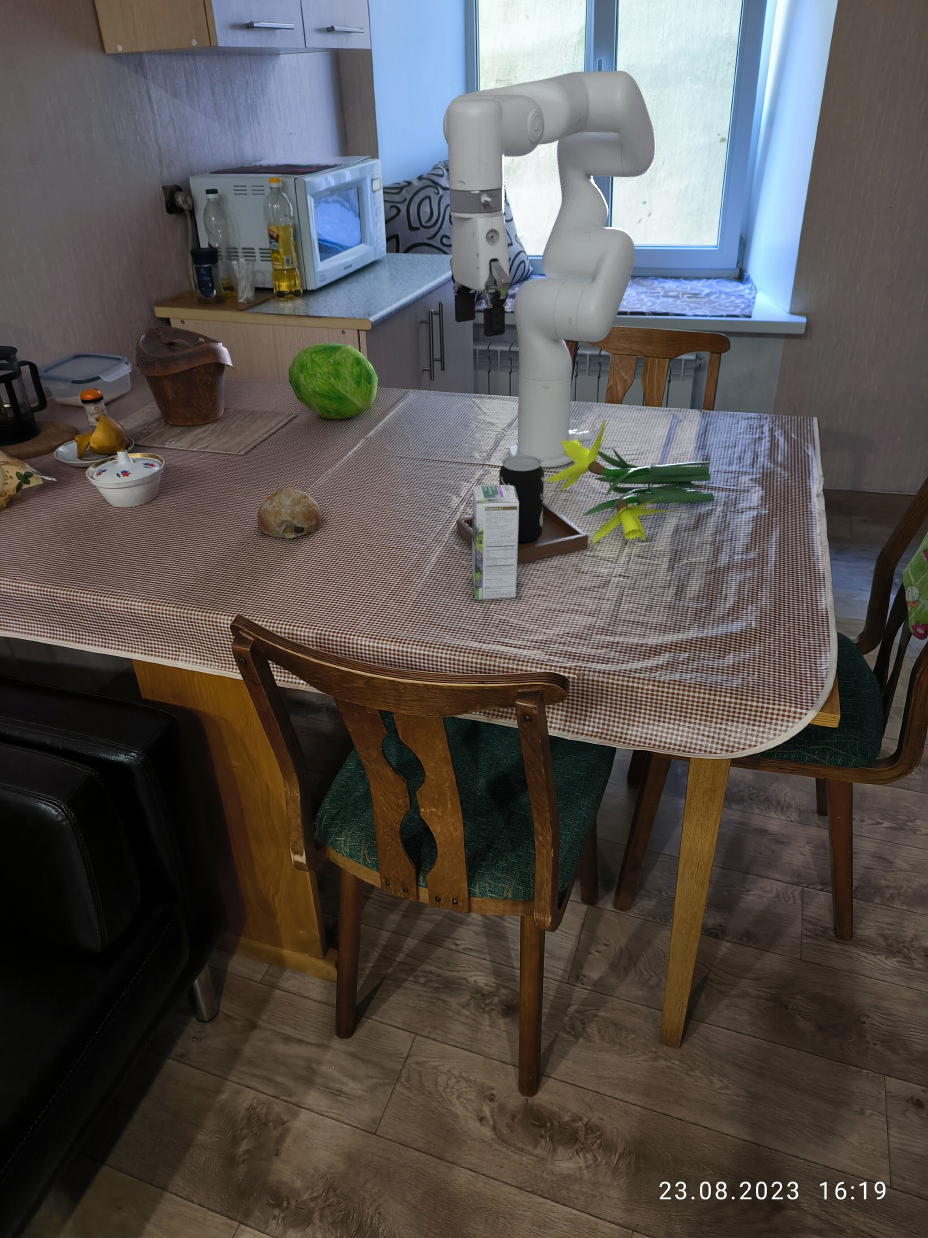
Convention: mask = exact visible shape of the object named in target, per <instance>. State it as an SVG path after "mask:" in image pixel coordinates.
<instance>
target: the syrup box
mask: <svg viewBox="0 0 928 1238" xmlns="http://www.w3.org/2000/svg"><path fill="white" fill-rule="evenodd" d="M472 517H473V531H472V547H471V551H472V553H471V554H472V555H471V556H472V557H471V558H472V559H471V564H472V566H471V567H472V569H471V571H472V575H471V576H472V589H473V593H474V599H475V600H476V601H481V600H482V601H483V600H497V599H498V600H499V599H510V598H511V599H513V598H517V585H518V583H517V582H518V565H517V552H518V522H519V501H518V497H517V493H516V491H515V488H514V486H510V485H499V484H487V485H486V484H485V485H484V484H483V485H476V486H473V488H472Z"/></svg>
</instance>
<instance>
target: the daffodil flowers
mask: <svg viewBox="0 0 928 1238" xmlns="http://www.w3.org/2000/svg"><path fill="white" fill-rule="evenodd" d="M605 425H606V419H604V420H603V421H602V423H601V426H600V430H599V433H598V435H597V437H596V439H595V440H594V442H593V443H592V446H591V447H590V449H588V448H587V447H584V446H583V445H581V442H578V440H577V439H576V440H575V439H574V441H572V440H571V442H569V441H566V440H562V445H563V447H564V449H565V451H563V452H564V454H566V455H568V456H569V457H570V458H571V459H572V460H573V461H572V462H574V464H572V465H570V466H568V467H566V468H565V469H563V470H561V471H559V472H557V473H555V474H554V475H552V476H550V477H548V478H547V479H544V483H545V482H547V483H549V482H551V483H552V482H554V483H556V482H560V481H561V482H562V481H564V480H566V479H567V480H566V481H565V482H564V484H563V485H562V486H561V487H560V488H559V490H558V492H561V491H563V490H565V489H568V488H570V487H571V486H573V485H574V484H575V483H576V482H577V481H578V480H579V478H581V477H582V475H584V474H586V473H587V472H589V473H592V474H594V475H598V476H599V477H594V480H596V481H599V482H603V483H608V485H609V488H608V490H607V492H606V494H605V498H606V497H607V496H609V495H610V493H611V492H612V491H613V492H614V493H616V494H622V495H621V496H620V497H615V498H611V499H608V500H606V501H603V502H601V503H598V504H597V505H595V506H594V507H592V508H590V509H589V510H588V511H586V512H585V513H583V517H584V516H591V515H593V514H596V513H598V512H602V511H605V510H609V509H611V511H610V514H609V515H612V514H613V513H614V511H615V510H616V512H615V514H613V515H612V516H611V517H610V519H609V520H608V521H606V522H605V523H604V524H602V525H601V526H600V527H599V529H598V530H597V531H596V532H595V533H594V536H593V540H592V542H591V545H592V544H594V543H596V542H598V541H599V540H600V539H602V538H604V537H605V536H606V535H607V534H608V533H609V532H611V531H612V530H613V529H615V528H616V527H618V526H619V525H620V524H621V525H622V531H623V532H622V533H623V538H624V540H627V541H629V540H632V539H634V540H635V539H636V537H637V538H638V539H641V540H646V535H645V530H644V528H643V524H642V522H641V520H640V518H639V517H642V516H647V515H652V514H658V513H661V514H667V513H670V512H671V510H664V509H657V508H645V507H646V506H647V505H653V504H654V505H656V504H679V503H680V504H681V503H682V504H683V503H684V504H685V503H704V502H705V503H706V502H707V503H708V502H714V500H715V498H714V497H715V495H714V493H713V492H702V491H701V490H695V489H696V488H697V489H698V488H701V487H702V486H703V484H696V482H710V480H711V474H710V467H709V466H705V465H709V464H711V462H710V461H693V462H690V461H689V462H682V463H680V462H679V463H672V464H671V463H670V464H661V465H650V466H649V465H648V466H638V465H634V464H631V463H628V462H627V461H626V460H624V459H623V457H622V456H621V455H620V454H619V453H618V452H617V451H616V449H614V448H612V451H613V453H614V455H615V458H614V457H611V456H609V454H606V453H604V452H602V451H600V448H601V447H602V445H603V444H604V442H605V441H606V439H607V435H605V437H604V436H603V435H604V431H605ZM603 437H604V438H603ZM602 439H603V440H602ZM598 456H599V457H600V458H601V459H602V460H603V461H604V462H606V463H608V465H609V464H610V465H611V466H613V467H615V468H613V467H612V468H610V467H605V466H604V465H602V464H601V463H600V462H599V461H597V458H598ZM616 458H617V459H616ZM703 465H704V466H703ZM618 484H619V485H618ZM620 484H621V485H623V486H621V485H620ZM624 485H647V486H624ZM651 485H659V486H651ZM660 485H661V486H660ZM691 489H692V490H691Z"/></svg>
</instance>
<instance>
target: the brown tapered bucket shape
mask: <svg viewBox="0 0 928 1238" xmlns="http://www.w3.org/2000/svg"><path fill="white" fill-rule="evenodd" d="M134 356H135V358H134V367H135V368H139V371H140V372H139V373H140V374H141V375H142V376H143V377H145V380H146V382H147V384H148V386H149V389H150V391H151V394H152V396H153V398H154V400H155V403H156V405H157V407H158V411H159V412H160V414H161V417H162V420H163V421H164V422H166V423H167V424H168V425H172V426H177V427H178V426H179V427H180V426H181V427H182V426H183V427H185V426H187V427H189V426H202V425H206V424H211V423H213V422H215V421H217V420H219V419H220V418H221V417H222V416H223V415H224V407H225V406H224V404H225V403H224V401H225V379H226V378H225V376H226V375H225V374H226V367H230V368H231V369H233V370H234V371H235V370H236V369H235V368H234V366H233V363H232V360H231V355H230V352H229V350H228V348H226V347H225V346H224V345H223V343H222V341H219V340H216V339H215V338H212V337H209V336H207V335H204V334H201V333H199V332H195V331H192V330H189V329H185V328H184V329H183V328H180V327H174V326H167V325H160V326H158V325H157V326H152V327H150V328H147V329H146V330H145V331H143V332H142V333H141V334H140V335H139V337H138V339H137V341H136V343H135V355H134Z"/></svg>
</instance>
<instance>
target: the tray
mask: <svg viewBox="0 0 928 1238" xmlns="http://www.w3.org/2000/svg"><path fill="white" fill-rule="evenodd" d="M472 531H473V516H469V517H464V518H459V519H456V534H457V536H459V537H460V538H461V539H462V540H463V541H464V542H465V543H466V544H467V545H468V546H469V547H470V548H472ZM588 547H589V534H588V533H587V532H585V531H584V530H582V529H581V528H580V527H578V526H577V525H575V524H574V523H573V522H572V521H571V520H569V519H568V518H566V517H565V516H564V515H563V514H562V513H560V512H559V511H558V510H556V509H555V508H554V507H553V506H551V505H550V504H549V503H547V502H546V501H543V525H542V534H541V535H540V536H539V537H538V539H537V540H535V541H533V542H531V543H525V544H518V552H517V566H519V565H523V564H527V563H532V562H536V561H539V560H544V559H549V558H554V557H558V556H561V555H566V554H571V553H574V552H579V551H584V550H588Z"/></svg>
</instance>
